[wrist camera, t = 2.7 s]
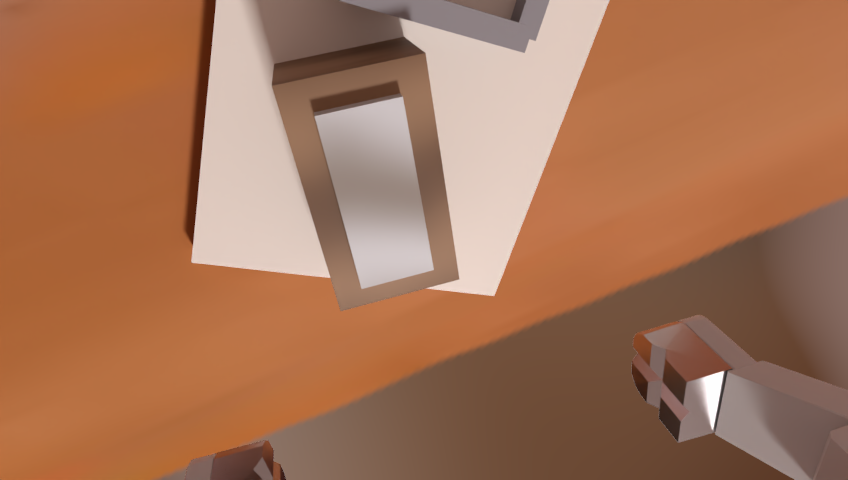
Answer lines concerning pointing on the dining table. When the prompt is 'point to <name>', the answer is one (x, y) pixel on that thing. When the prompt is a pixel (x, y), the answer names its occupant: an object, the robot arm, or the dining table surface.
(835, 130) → the dining table surface
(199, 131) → the dining table surface
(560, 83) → the wall panel
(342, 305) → the frame
